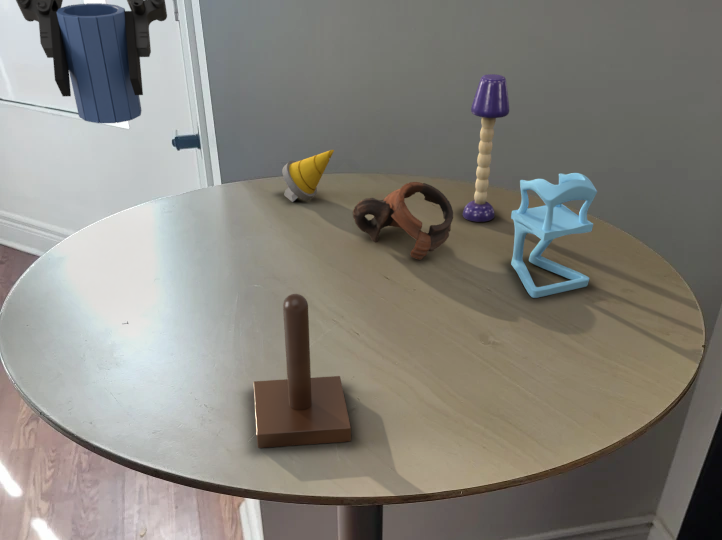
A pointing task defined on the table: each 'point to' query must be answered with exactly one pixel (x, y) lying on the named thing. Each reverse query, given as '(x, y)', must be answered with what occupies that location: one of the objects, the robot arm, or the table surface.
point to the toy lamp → (486, 140)
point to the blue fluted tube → (99, 62)
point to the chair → (551, 228)
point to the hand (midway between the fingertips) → (100, 87)
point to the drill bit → (305, 176)
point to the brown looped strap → (405, 217)
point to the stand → (299, 393)
